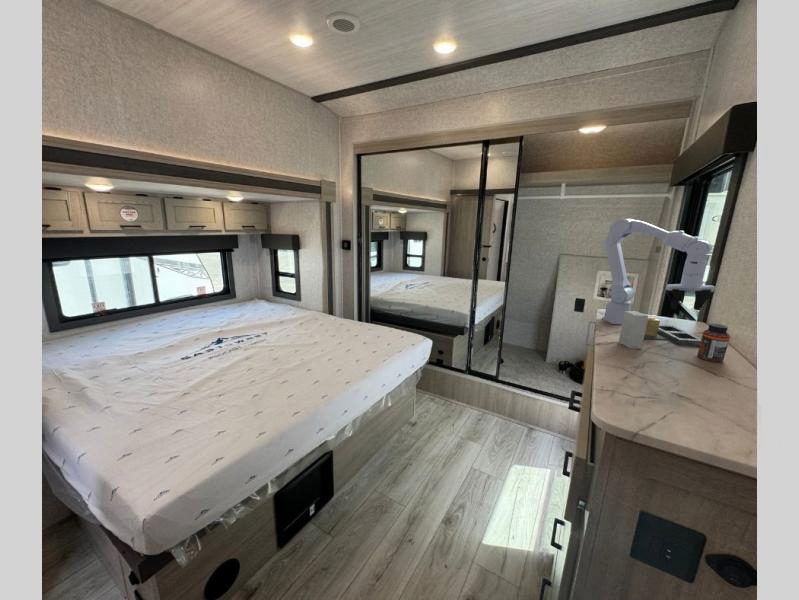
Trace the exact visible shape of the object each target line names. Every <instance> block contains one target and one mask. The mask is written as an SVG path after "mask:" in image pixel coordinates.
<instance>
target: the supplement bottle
mask: <svg viewBox="0 0 799 600" xmlns="http://www.w3.org/2000/svg"><path fill="white" fill-rule="evenodd" d="M700 339H701V342H700V346H698V351H697V356H698V358H700V359H702V360H705V361H709V362H711V363H712V362H713V363H721V362H724V360H725V356H726V352H727V349H728V347H729V342H730V339H731V335H730V333H728V326H727V325H725V324H720V323H709V325H708V328H707V329H705V330H703V331H702V335H701V338H700Z"/></svg>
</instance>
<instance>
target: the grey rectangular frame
mask: <svg viewBox="0 0 799 600" xmlns="http://www.w3.org/2000/svg"><path fill="white" fill-rule="evenodd" d="M657 334H658V335H660V336H662V337H664V338H666V339H667V341H670V342H672V343H673V344H676V345H677V346H686V347H687V346H689V347H690V346H692V347H699V346H700V342H701V339H702V338H699V337H698V336H696V335H694V334H692V333H689V332H687V331H685V330H683V329H681V328H679V327H677V326H675V325H671V324H659V328H658V332H657Z"/></svg>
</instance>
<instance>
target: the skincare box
mask: <svg viewBox="0 0 799 600" xmlns="http://www.w3.org/2000/svg"><path fill="white" fill-rule="evenodd" d="M648 317H649V315H647V314H645V313H641V312H639V311H635V310H630V311H624V316H623V322H622V324H621V328H620V334H619V338H618V343H619V344H622V345H623V346H625V347H626V348H629V349H633V350H634V349H638V350H639V349H641V350H642V349H643V344H644V341H645V339H644V335H645V330H646V325H647V320H648Z"/></svg>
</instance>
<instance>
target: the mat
mask: <svg viewBox="0 0 799 600" xmlns="http://www.w3.org/2000/svg"><path fill="white" fill-rule="evenodd" d="M644 340H656V341H657V340H659V341H668V339H666V338H665V337H663V336H661V335H659V334H657V337H650V336H644Z"/></svg>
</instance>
